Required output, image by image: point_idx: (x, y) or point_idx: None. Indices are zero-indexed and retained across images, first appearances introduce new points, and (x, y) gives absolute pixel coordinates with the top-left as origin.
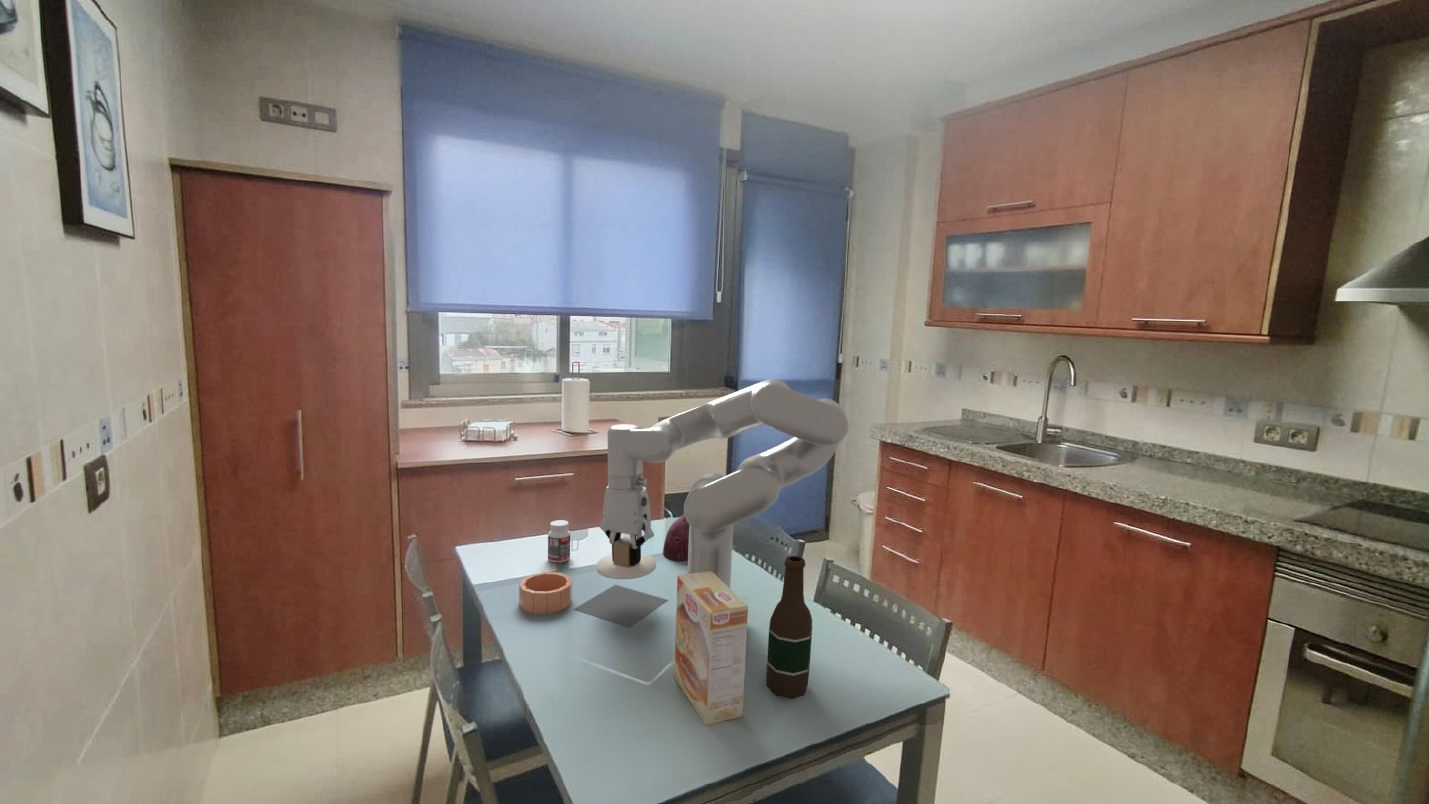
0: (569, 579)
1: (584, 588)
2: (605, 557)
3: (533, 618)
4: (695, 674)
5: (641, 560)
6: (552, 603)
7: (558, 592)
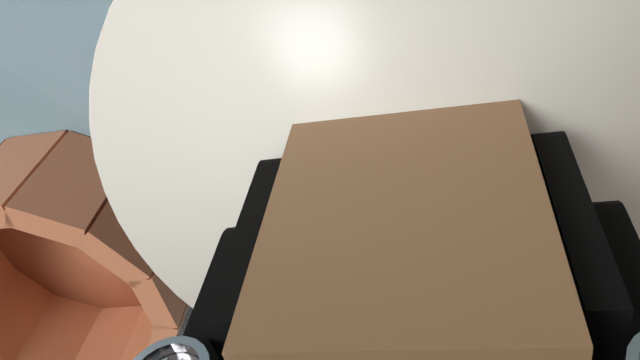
0: (68, 233)
1: (16, 4)
2: (131, 208)
3: (186, 316)
4: None
5: (526, 56)
6: (188, 306)
7: (178, 329)
